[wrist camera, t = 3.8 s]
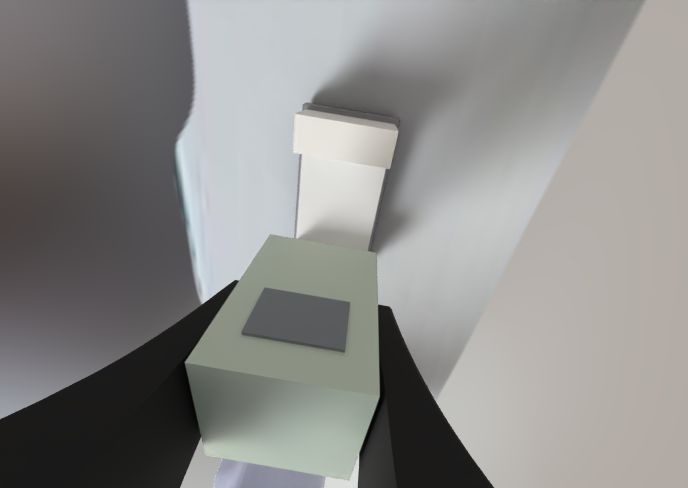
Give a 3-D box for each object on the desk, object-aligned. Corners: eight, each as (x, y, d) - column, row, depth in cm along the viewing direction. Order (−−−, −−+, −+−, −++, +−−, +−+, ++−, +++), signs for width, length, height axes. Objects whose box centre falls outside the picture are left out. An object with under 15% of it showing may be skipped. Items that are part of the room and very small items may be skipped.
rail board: (365, 263, 19) (364, 295, 16) (296, 251, 19) (282, 281, 16) (398, 118, 15) (404, 127, 12) (306, 102, 15) (290, 107, 12)
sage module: (358, 328, 12) (349, 480, 8) (269, 312, 12) (205, 455, 8) (377, 250, 10) (380, 393, 6) (270, 232, 10) (184, 359, 6)
